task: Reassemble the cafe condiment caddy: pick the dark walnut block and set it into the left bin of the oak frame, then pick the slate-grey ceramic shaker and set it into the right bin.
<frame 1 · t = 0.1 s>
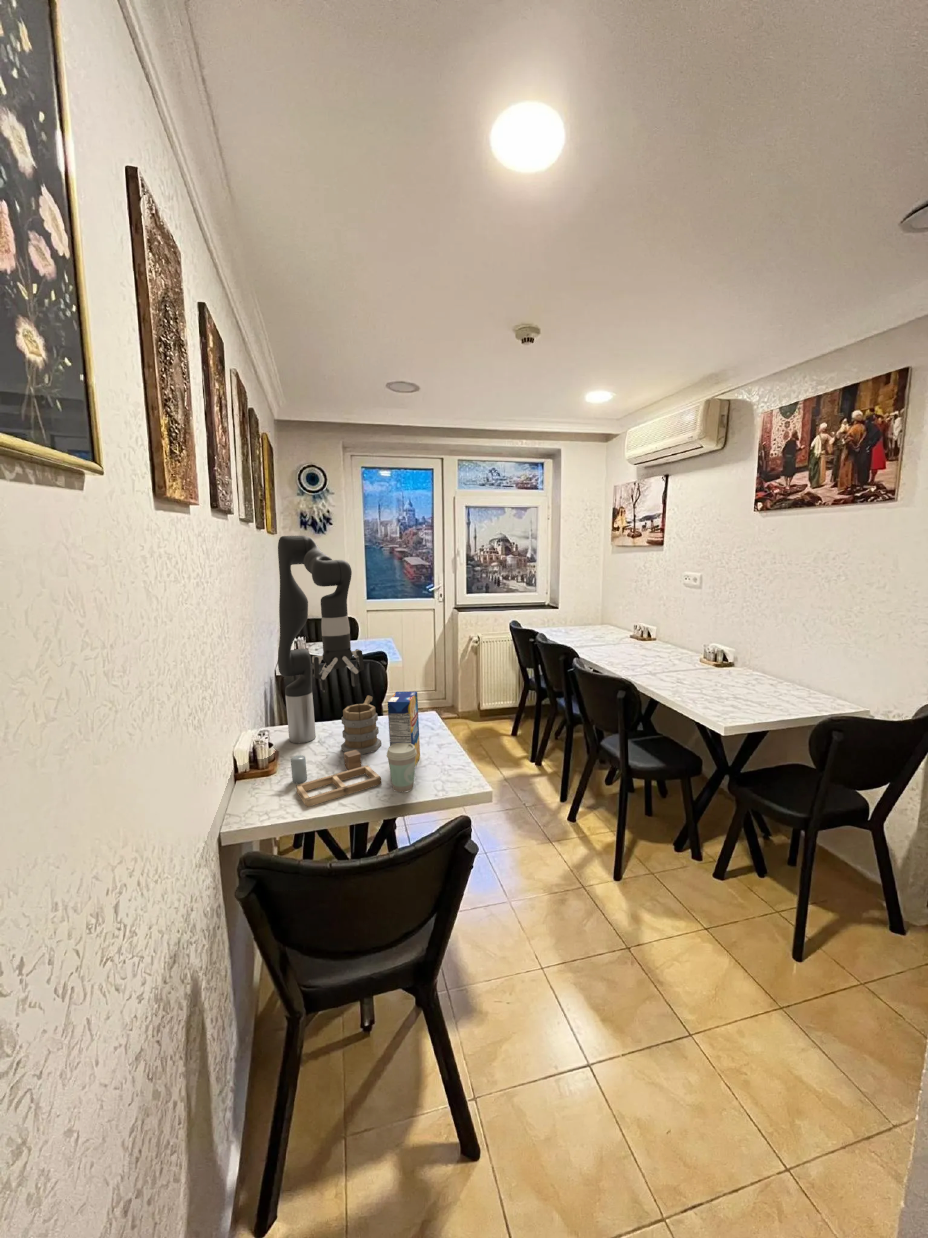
hand: (339, 688, 139), 29 cm above the table, fingers open, 8 cm apart
caddy: (339, 788, 142), on the table
grey shaker: (299, 780, 148), on the table
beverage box: (406, 763, 157), on the table
coffee cup: (403, 788, 141), on the table
walnut block: (353, 768, 155), on the table
tankard: (365, 743, 175), on the table
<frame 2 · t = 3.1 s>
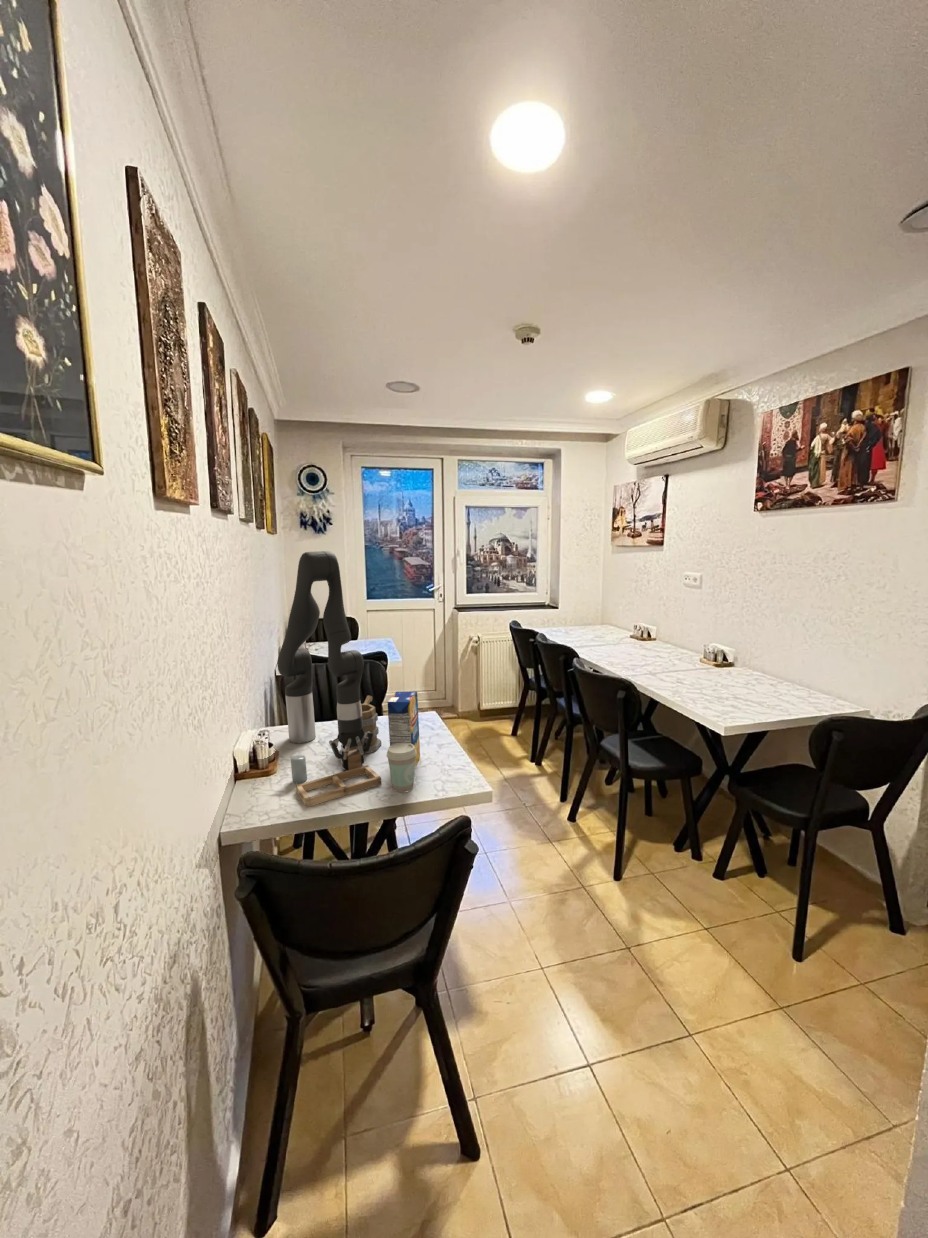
hand: (353, 767, 155), 0 cm above the table, fingers closed on walnut block, 4 cm apart
walnut block: (353, 768, 155), on the table, touching gripper
everything else where it was.
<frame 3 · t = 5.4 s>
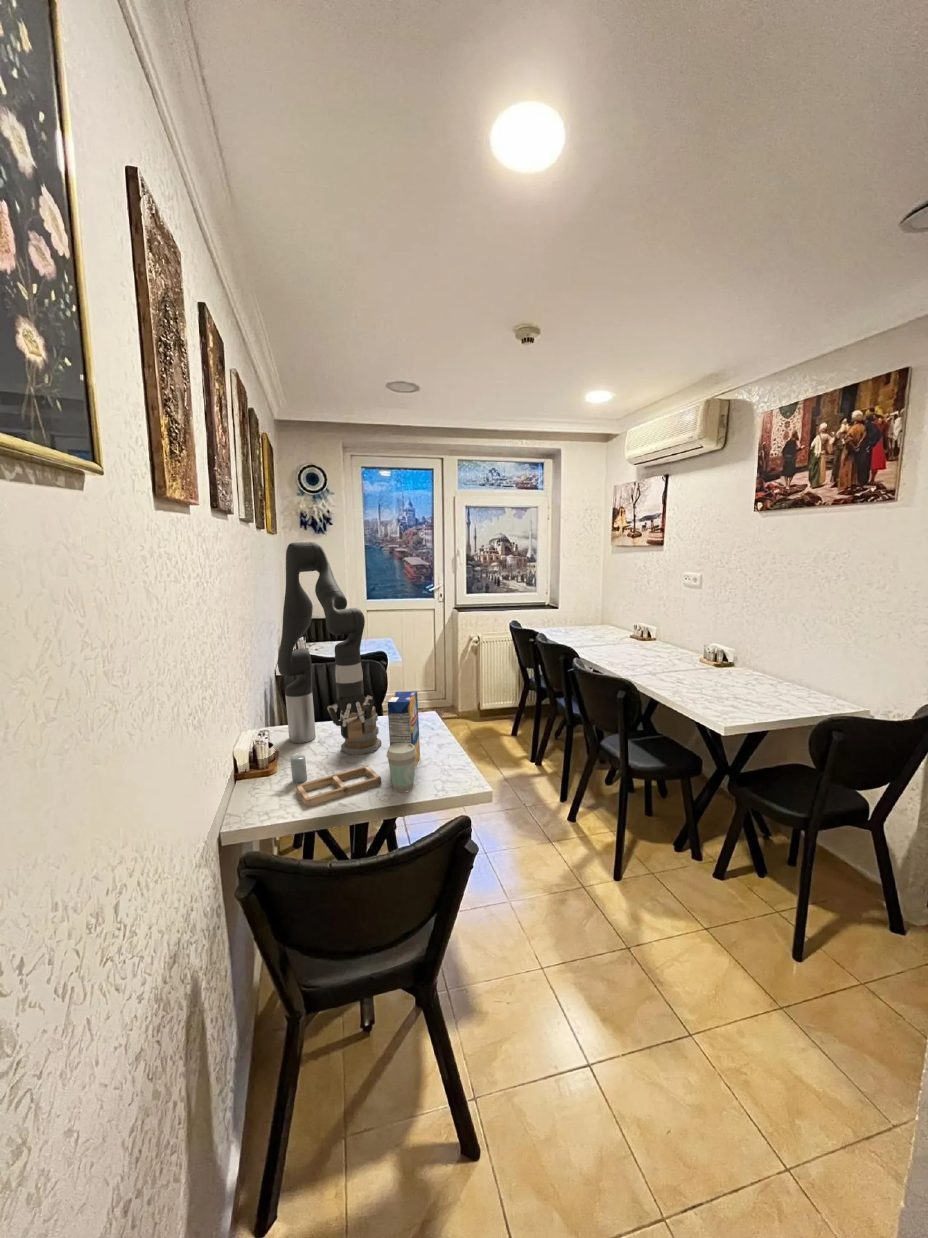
hand: (353, 735, 143), 14 cm above the table, fingers closed on walnut block, 4 cm apart
walnut block: (353, 736, 143), point 14 cm above the table, touching gripper
everything else where it was.
when the fingers open (2 cm above the table, at t = 7.9 s): walnut block drops 2 cm, resting in caddy.
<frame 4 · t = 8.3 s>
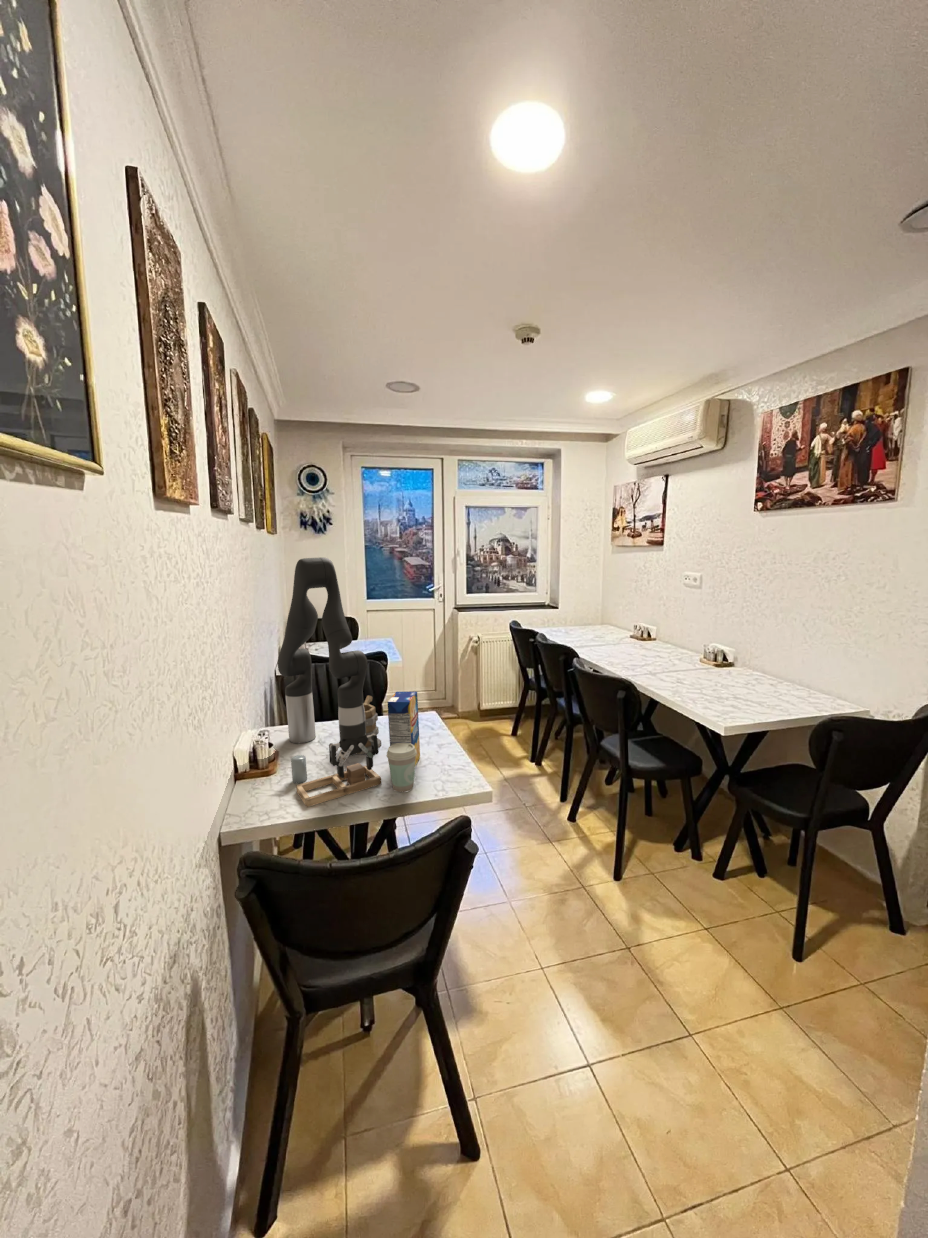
hand: (355, 773, 144), 3 cm above the table, fingers open, 8 cm apart
walnut block: (356, 783, 145), resting in caddy
everything else where it was.
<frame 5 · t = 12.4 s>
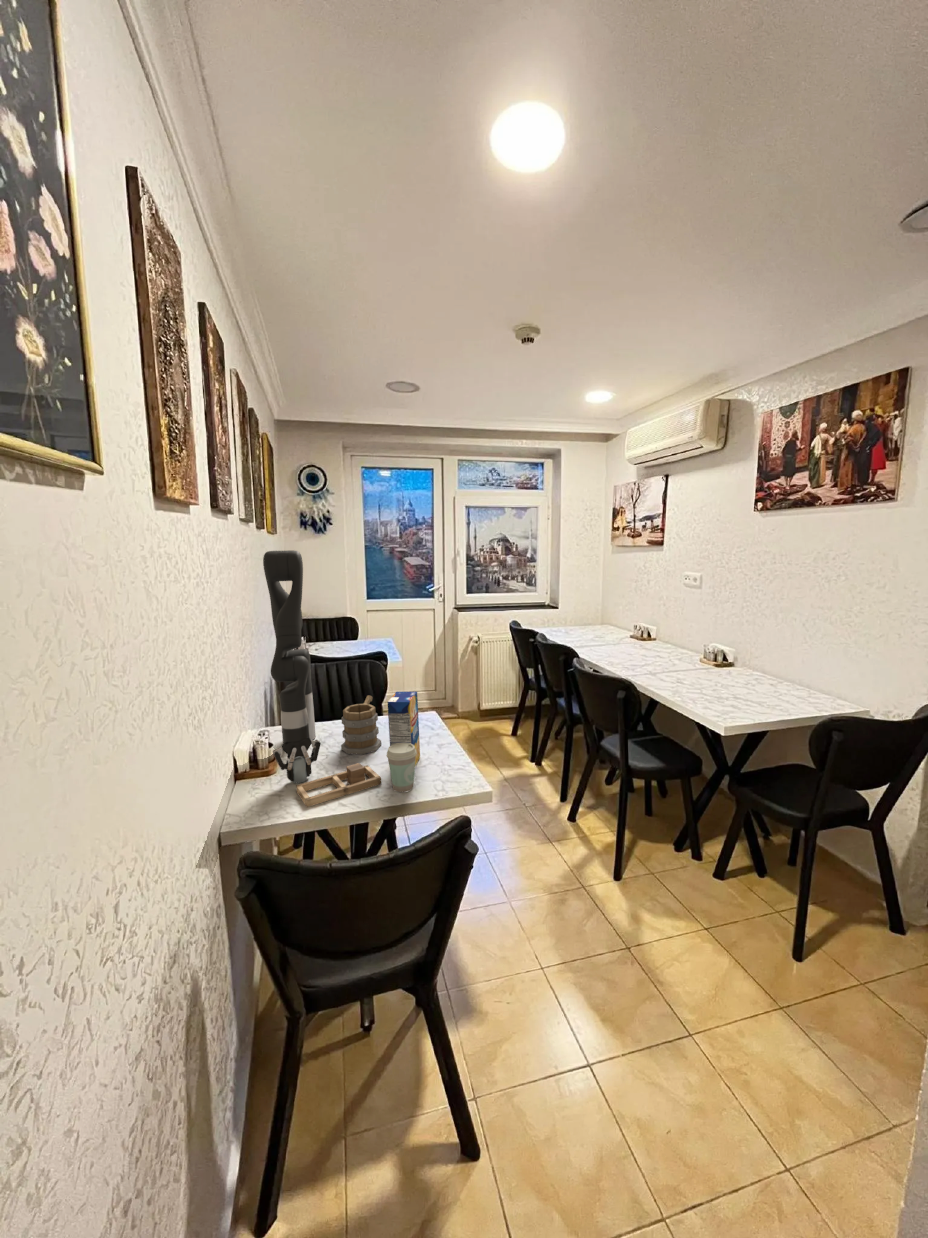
hand: (299, 777, 147), 1 cm above the table, fingers closed on grey shaker, 4 cm apart
grey shaker: (299, 780, 148), on the table, touching gripper
everything else where it was.
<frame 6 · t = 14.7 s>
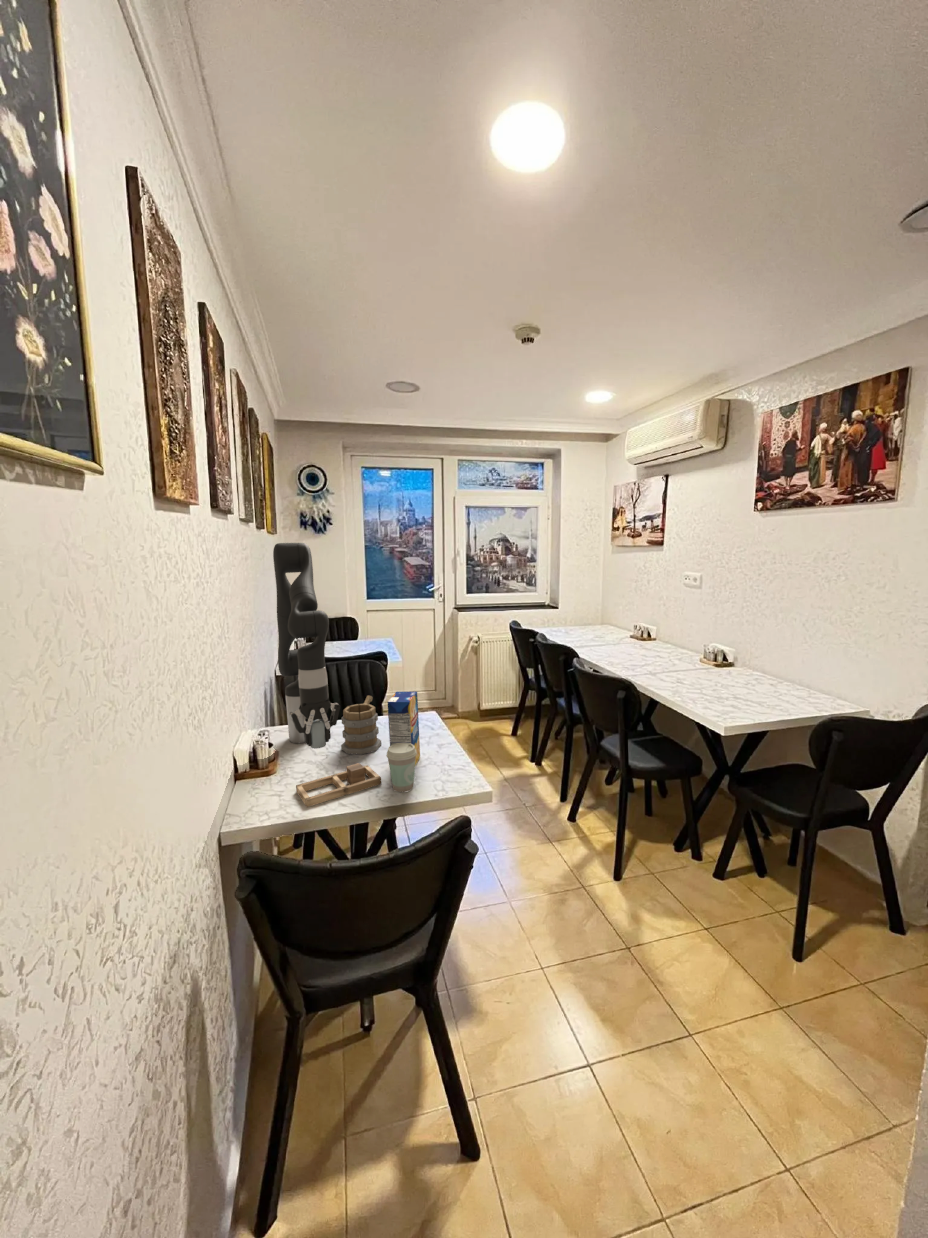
hand: (317, 743, 137), 15 cm above the table, fingers closed on grey shaker, 4 cm apart
grey shaker: (318, 745, 137), point 14 cm above the table, touching gripper
everything else where it was.
when the fingers open (3 cm above the table, at t = 17.2 s): grey shaker drops 2 cm, resting in caddy.
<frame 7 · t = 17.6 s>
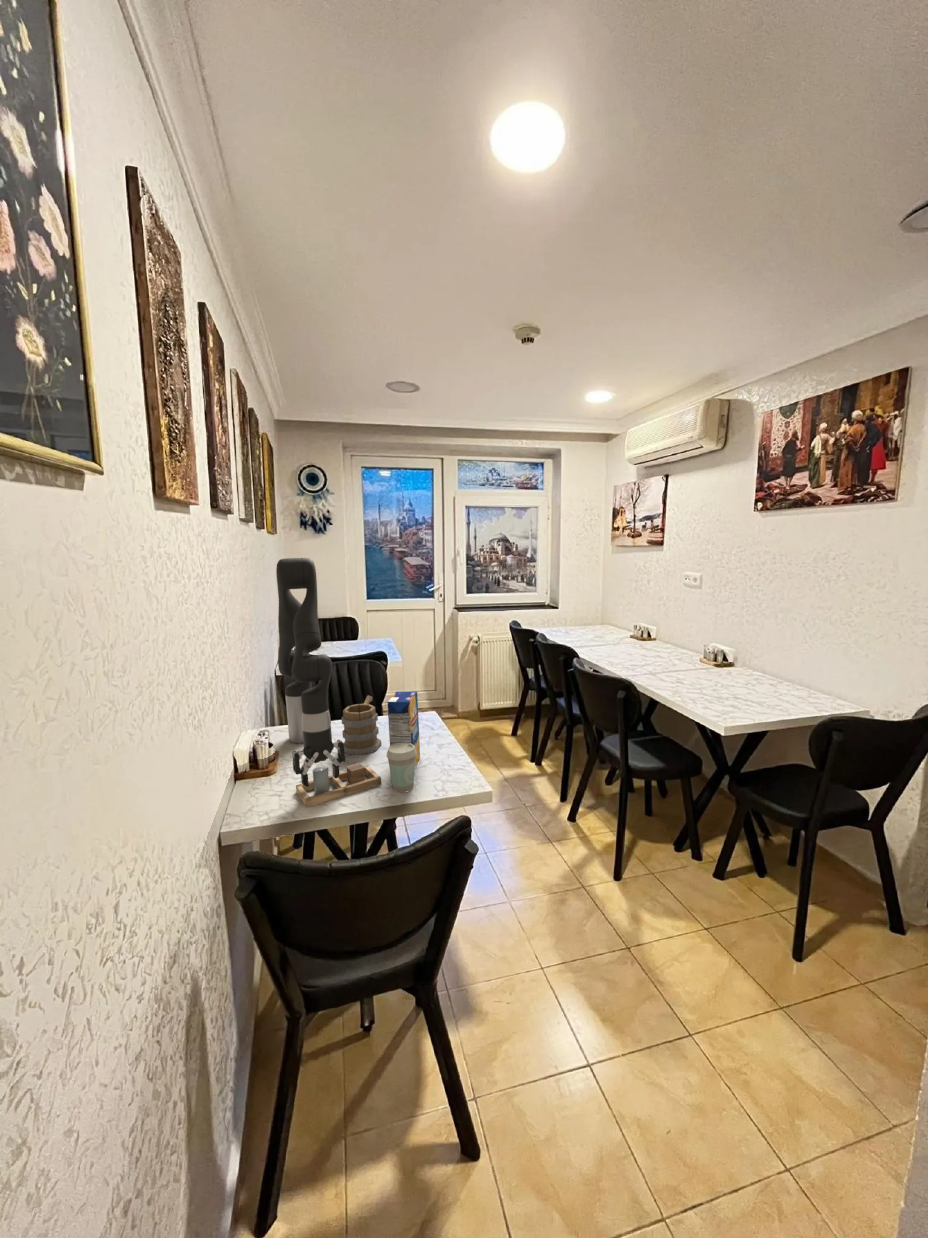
hand: (321, 781, 139), 4 cm above the table, fingers open, 8 cm apart
grey shaker: (322, 793, 139), resting in caddy
everything else where it was.
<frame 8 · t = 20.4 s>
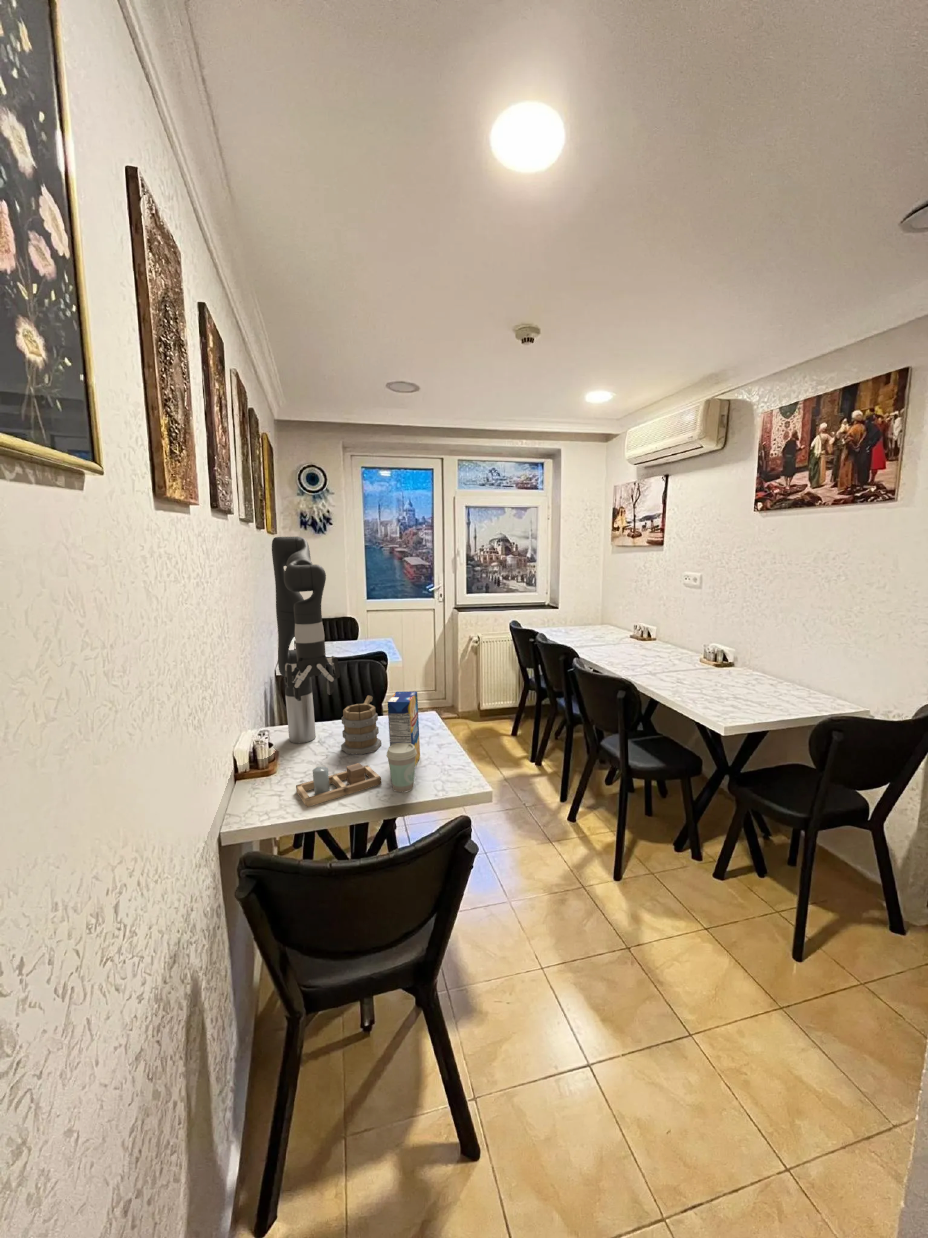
hand: (314, 697, 135), 28 cm above the table, fingers open, 8 cm apart
nothing on the table moved.
at the end: walnut block inside the target area on the caddy (0.2 cm from its centre), point 0.0 cm above the caddy's base; grey shaker inside the target area on the caddy (0.2 cm from its centre), point 0.0 cm above the caddy's base; grey shaker tilted 0° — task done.
